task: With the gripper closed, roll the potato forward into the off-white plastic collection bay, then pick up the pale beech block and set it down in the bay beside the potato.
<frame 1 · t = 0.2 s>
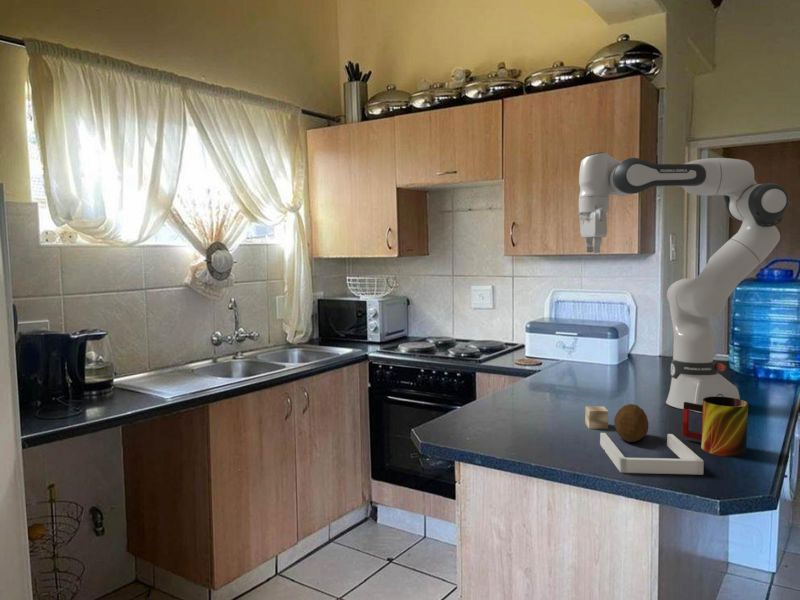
hand: (592, 252, 188), 47 cm above the worktop, fingers open, 8 cm apart
collection bay: (647, 457, 144), on the worktop
mug: (713, 449, 149), on the worktop
potato: (629, 439, 158), on the worktop
beech block: (596, 426, 169), on the worktop
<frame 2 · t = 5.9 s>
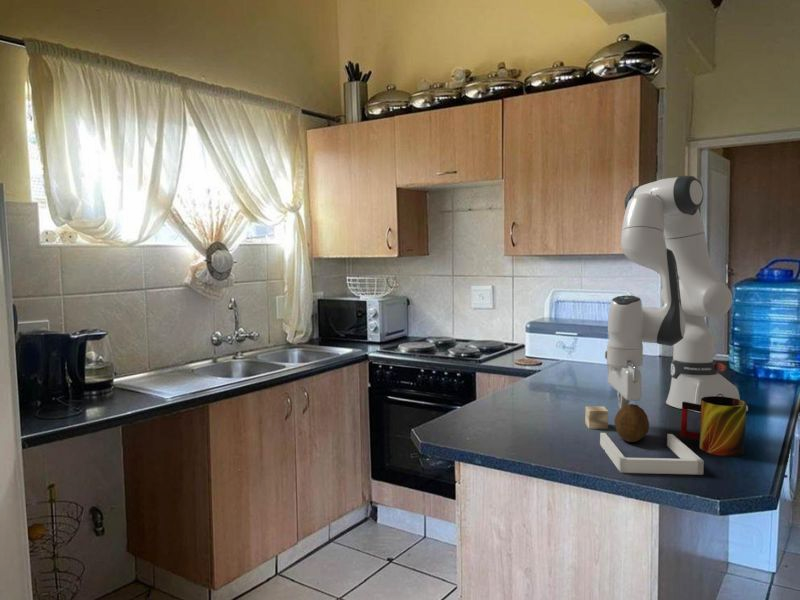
hand: (623, 409, 163), 6 cm above the worktop, fingers closed
potato: (629, 439, 158), on the worktop, touching gripper
everything else where it was.
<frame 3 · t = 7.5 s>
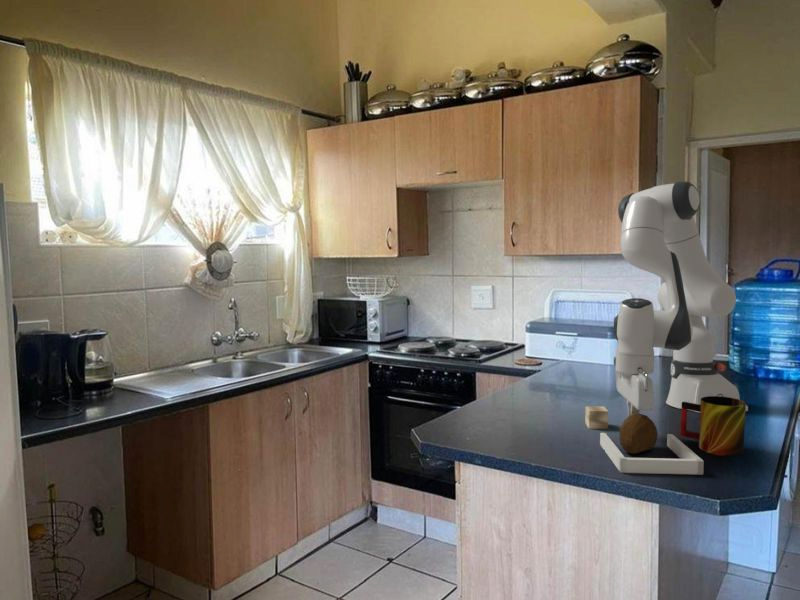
hand: (633, 418, 154), 6 cm above the worktop, fingers closed
potato: (635, 450, 149), on the worktop, touching gripper
everything else where it was.
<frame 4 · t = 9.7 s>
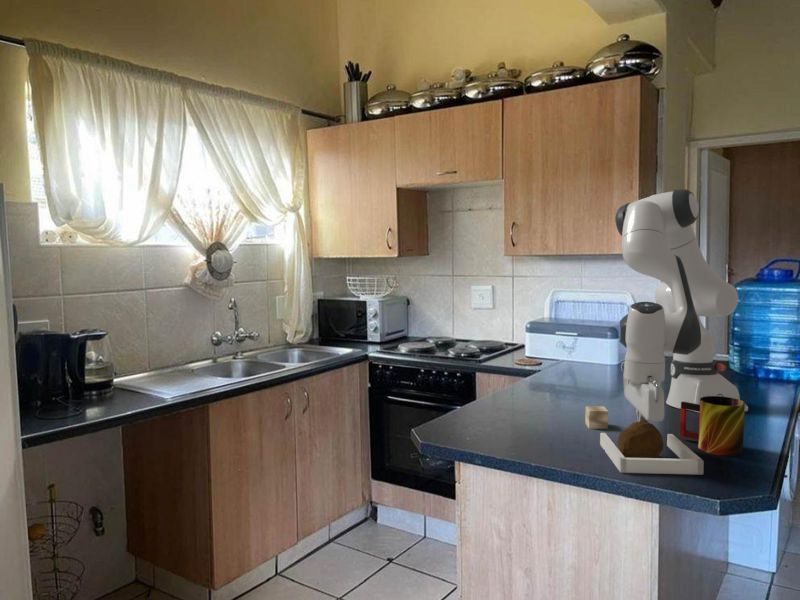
hand: (642, 428, 146), 6 cm above the worktop, fingers closed, pressing on potato
potato: (637, 459, 143), on the worktop, touching collection bay, gripper
everything else where it was.
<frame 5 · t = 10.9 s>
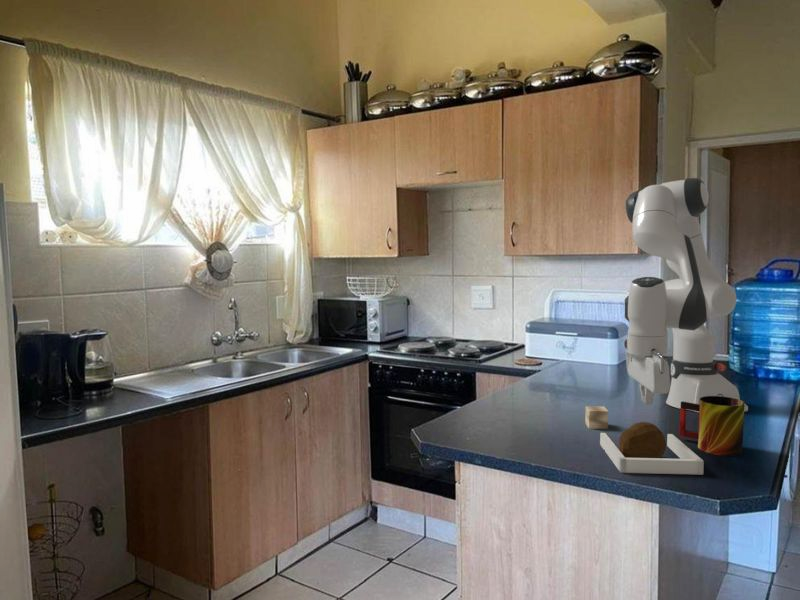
hand: (647, 402, 147), 12 cm above the worktop, fingers closed
potato: (639, 460, 142), on the worktop
everything else where it was.
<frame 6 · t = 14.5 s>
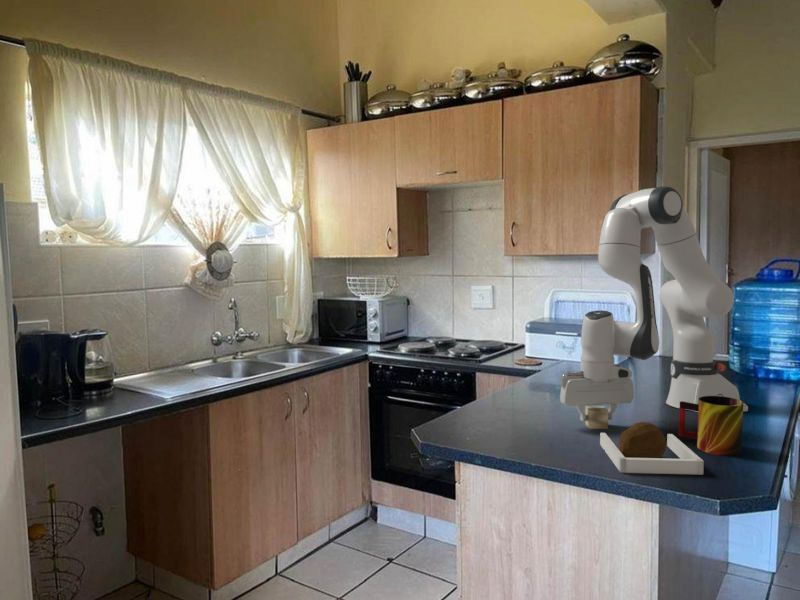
hand: (596, 420, 169), 2 cm above the worktop, fingers closed on beech block, 6 cm apart
beech block: (596, 426, 169), on the worktop, touching gripper
everything else where it was.
when the fingers open (4 cm above the worktop, at t = 20.6 s): beech block moves 1 cm and tips over, point 2 cm above the worktop.
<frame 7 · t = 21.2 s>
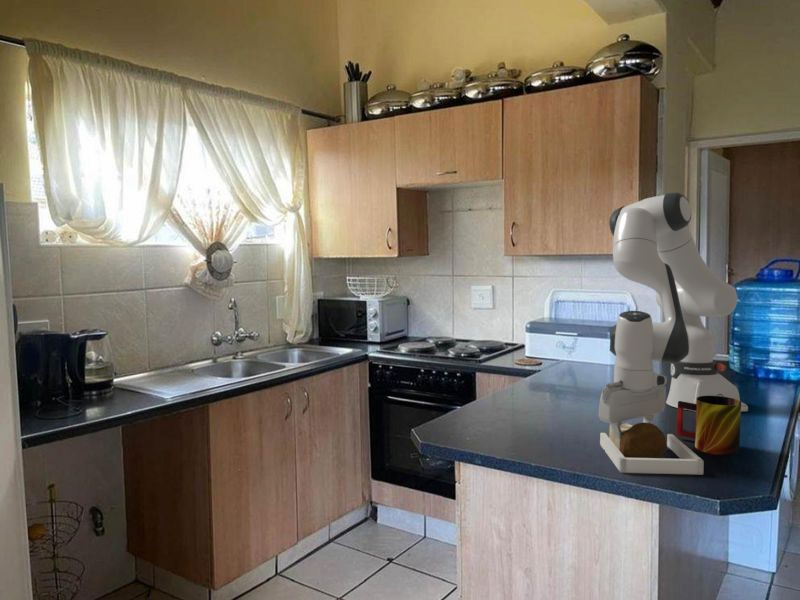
hand: (631, 435, 149), 4 cm above the worktop, fingers open, 8 cm apart
beech block: (630, 439, 149), point 2 cm above the worktop, tilted 90°
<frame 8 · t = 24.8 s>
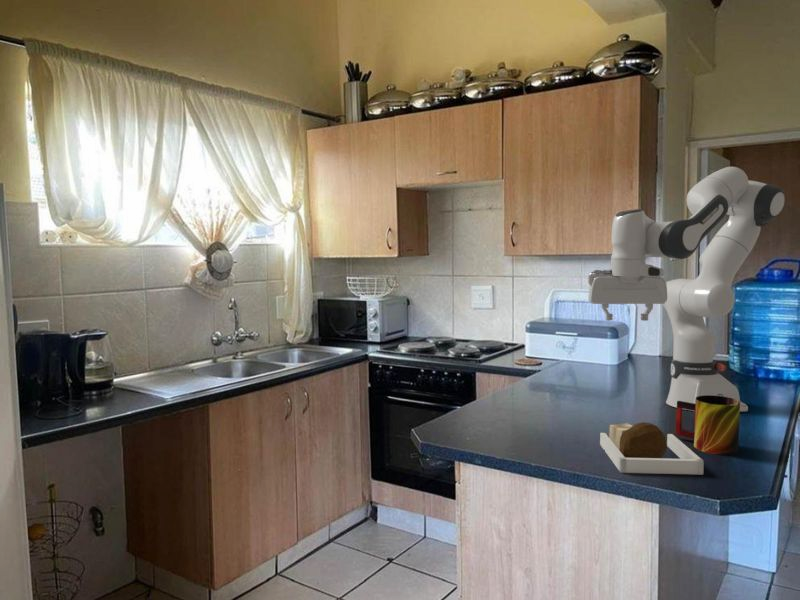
hand: (626, 320, 168), 29 cm above the worktop, fingers open, 8 cm apart
at the end: potato inside the target area (2.3 cm from its centre), on the worktop; beech block inside the target area (6.8 cm from its centre), point 2.4 cm above the worktop; potato moved 16.3 cm from its start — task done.
